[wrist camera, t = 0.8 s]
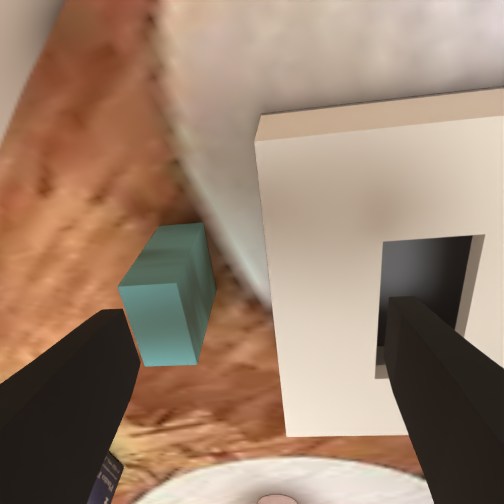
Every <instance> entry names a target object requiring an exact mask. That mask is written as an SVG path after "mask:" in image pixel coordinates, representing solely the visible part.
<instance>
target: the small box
mask: <svg viewBox="0 0 504 504" xmlns="http://www.w3.org/2000/svg"><path fill="white" fill-rule="evenodd" d="M123 469H124V468H123V466H122V465H121V464H120V463H119V462H118V461H117V460H116V459H115V458H114V457H113V456H112V455H111V454H110V453H109V452H108V453H107V455H106V458H105V460H104V462H103V465H102V467H101V469H100V472H99V474H98V476H97V479H96V481H95V484H94V486H93V489H92V491H91V494H90V497H89V499H88V502H87V504H111V501H112V499H113V496H114V493H115V490H116V488H117V485H118V482H119V480H120V477H121V474H122V472H123Z"/></svg>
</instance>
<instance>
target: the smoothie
mask: <svg viewBox="0 0 504 504" xmlns="http://www.w3.org/2000/svg"><path fill="white" fill-rule="evenodd" d="M257 504H297V502H296V501H295V500H293V499H292V498H290V497H287V496H284V495H268V496H265V497H263V498H261V499H260V500H259V501H258V503H257Z"/></svg>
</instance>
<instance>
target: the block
mask: <svg viewBox="0 0 504 504" xmlns="http://www.w3.org/2000/svg"><path fill="white" fill-rule="evenodd" d="M118 290H119V292H120V295H121V298H122V301H123V304H124V307H125V310H126V313H127V316H128V318H129V321H130V324H131V327H132V330H133V333H134V336H135V339H136V342H137V345H138V347H139V350H140V353H141V356H142V359H143V362H144V365H145V366H171V365H197V363H198V359H199V355H200V351H201V348H202V344H203V340H204V336H205V332H206V328H207V324H208V321H209V317H210V313H211V309H212V305H213V301H214V298H215V294H216V286H215V281H214V275H213V270H212V265H211V260H210V255H209V250H208V245H207V240H206V234H205V229H204V224H203V222H202V223H190V224H178V225H165V226H159V227H158V228H157V230H156V231H155V233H154V234H153V236H152V237H151V239H150V240H149V241H148V243H147V244H146V246H145V247H144V249H143V250H142V252H141V253H140V255H139V256H138V258H137V259H136V260H135V262H134V263H133V265H132V266H131V268H130V269H129V271H128V272H127V274H126V275H125V277H124V278H123V279H122V281H121V282H120V284H119V285H118Z"/></svg>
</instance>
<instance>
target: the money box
mask: <svg viewBox="0 0 504 504" xmlns="http://www.w3.org/2000/svg"><path fill="white" fill-rule="evenodd" d="M254 146H255V155H256V164H257V173H258V182H259V191H260V200H261V209H262V218H263V227H264V236H265V245H266V254H267V263H268V272H269V281H270V290H271V299H272V308H273V317H274V326H275V335H276V344H277V353H278V362H279V371H280V380H281V390H282V399H283V408H284V417H285V426H286V435H287V437H306V436H368V435H409V434H408V432H407V429H406V426H405V424H404V421H403V419H402V416H401V413H400V411H399V408H398V405H397V403H396V400H395V397H394V395H393V392H392V388H391V384H390V381H389V377H388V373H387V369H386V364H385V360H384V356H383V355H384V344H385V334H386V323H387V312H388V302H389V297H397V296H414V297H416V298H417V299H418V300H419V301H420V302H422V303H423V304H424V305H425V306H426V307H428V308H429V309H430V310H431V311H432V312H433V313H435V314H436V315H437V316H438V317H439V318H441V319H442V320H443V321H444V322H445V323H447V324H448V325H449V326H450V327H451V328H453V329H454V330H455V331H456V332H457V333H459V334H460V335H461V336H462V337H464V338H465V339H466V340H467V341H469V342H470V343H471V344H472V345H474V346H475V347H476V348H477V349H479V350H480V351H481V352H483V353H484V354H485V355H487V356H488V357H489V358H490V359H492V360H493V361H494V362H496V363H497V364H498V365H500V366H501V367H503V368H504V86H502V87H493V88H484V89H475V90H467V91H458V92H449V93H440V94H431V95H422V96H414V97H405V98H396V99H387V100H378V101H369V102H361V103H352V104H343V105H334V106H325V107H317V108H308V109H299V110H290V111H281V112H272V113H264V114H261V117H260V121H259V125H258V129H257V132H256V136H255V140H254Z"/></svg>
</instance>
